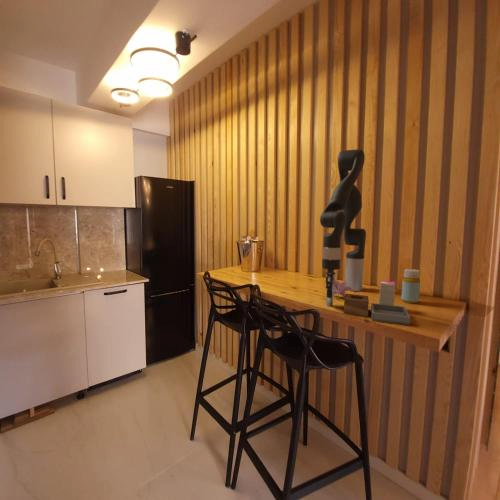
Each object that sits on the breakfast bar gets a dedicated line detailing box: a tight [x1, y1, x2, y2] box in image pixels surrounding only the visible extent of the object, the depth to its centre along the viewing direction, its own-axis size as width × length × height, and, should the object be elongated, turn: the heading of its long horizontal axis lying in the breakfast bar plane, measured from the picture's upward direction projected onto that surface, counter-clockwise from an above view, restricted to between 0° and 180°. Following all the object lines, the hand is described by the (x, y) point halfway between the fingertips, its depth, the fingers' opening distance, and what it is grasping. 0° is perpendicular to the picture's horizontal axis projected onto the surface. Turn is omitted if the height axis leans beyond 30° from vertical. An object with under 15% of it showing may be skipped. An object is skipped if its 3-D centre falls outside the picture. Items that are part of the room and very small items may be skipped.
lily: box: [325, 279, 354, 301], centre depth 132 cm, size 12×12×10 cm
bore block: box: [343, 293, 370, 317], centre depth 113 cm, size 9×9×6 cm
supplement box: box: [378, 280, 397, 306], centre depth 118 cm, size 6×6×12 cm
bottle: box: [400, 268, 421, 305], centre depth 127 cm, size 7×7×15 cm
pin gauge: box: [325, 281, 334, 307], centre depth 121 cm, size 3×3×12 cm
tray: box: [370, 302, 411, 326], centre depth 107 cm, size 14×13×3 cm
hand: (329, 296), depth 121 cm, fingers closed on pin gauge, 2 cm apart
